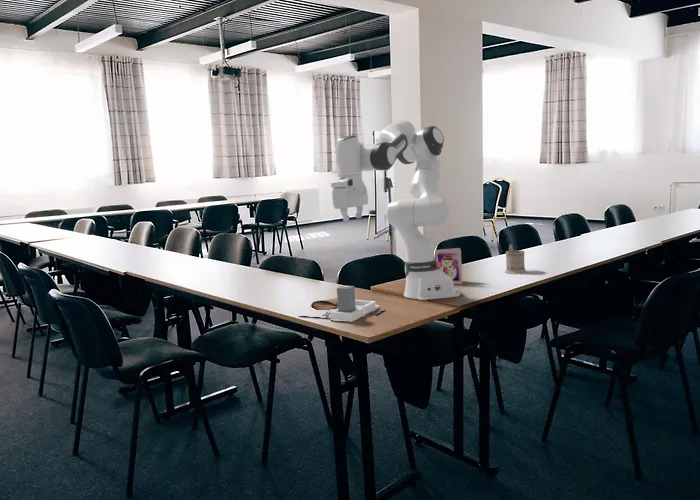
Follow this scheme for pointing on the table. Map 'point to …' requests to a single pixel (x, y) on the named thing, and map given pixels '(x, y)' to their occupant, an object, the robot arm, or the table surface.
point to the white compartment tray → (361, 310)
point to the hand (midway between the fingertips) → (352, 219)
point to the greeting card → (450, 263)
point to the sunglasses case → (325, 304)
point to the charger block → (346, 299)
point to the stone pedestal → (515, 261)
